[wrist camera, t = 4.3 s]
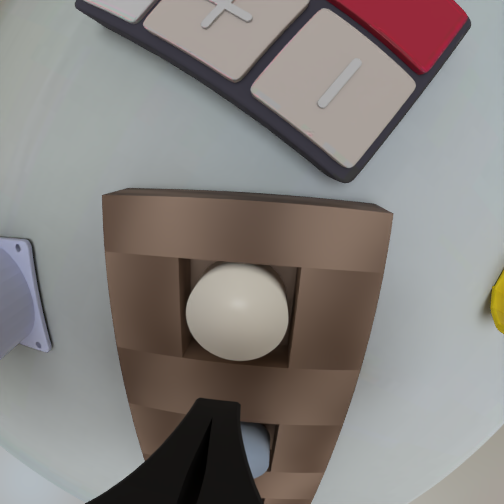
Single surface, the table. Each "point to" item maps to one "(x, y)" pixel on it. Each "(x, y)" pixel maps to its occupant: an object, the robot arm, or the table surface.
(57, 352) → the table surface
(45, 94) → the table surface
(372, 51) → the calculator
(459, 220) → the table surface
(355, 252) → the button panel
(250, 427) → the slate blue button
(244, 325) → the cream button
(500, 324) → the watch
